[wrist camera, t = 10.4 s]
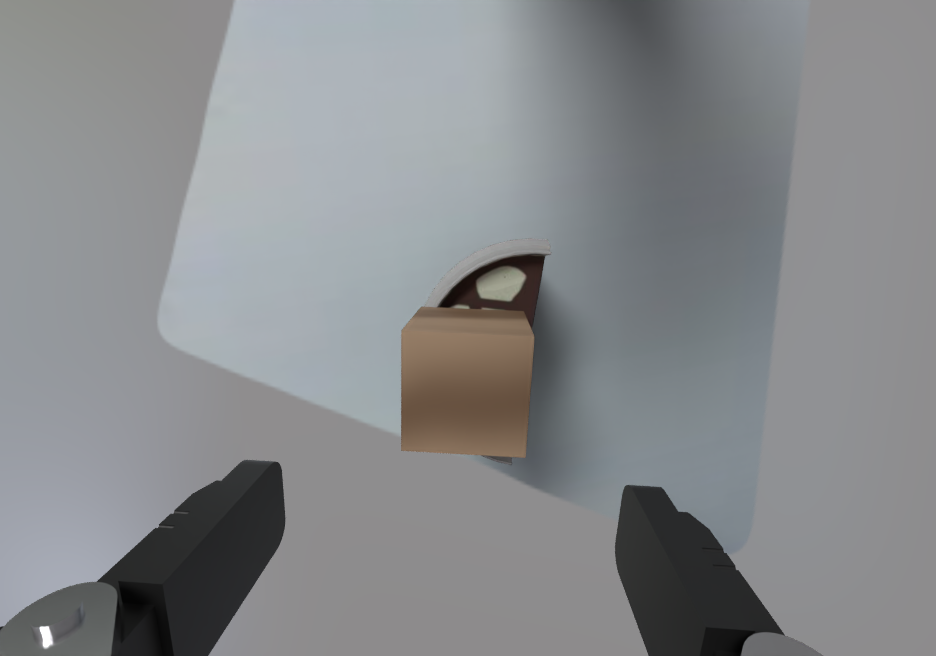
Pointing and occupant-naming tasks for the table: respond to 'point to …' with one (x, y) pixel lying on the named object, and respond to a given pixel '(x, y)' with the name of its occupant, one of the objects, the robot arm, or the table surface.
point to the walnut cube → (466, 381)
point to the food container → (495, 283)
